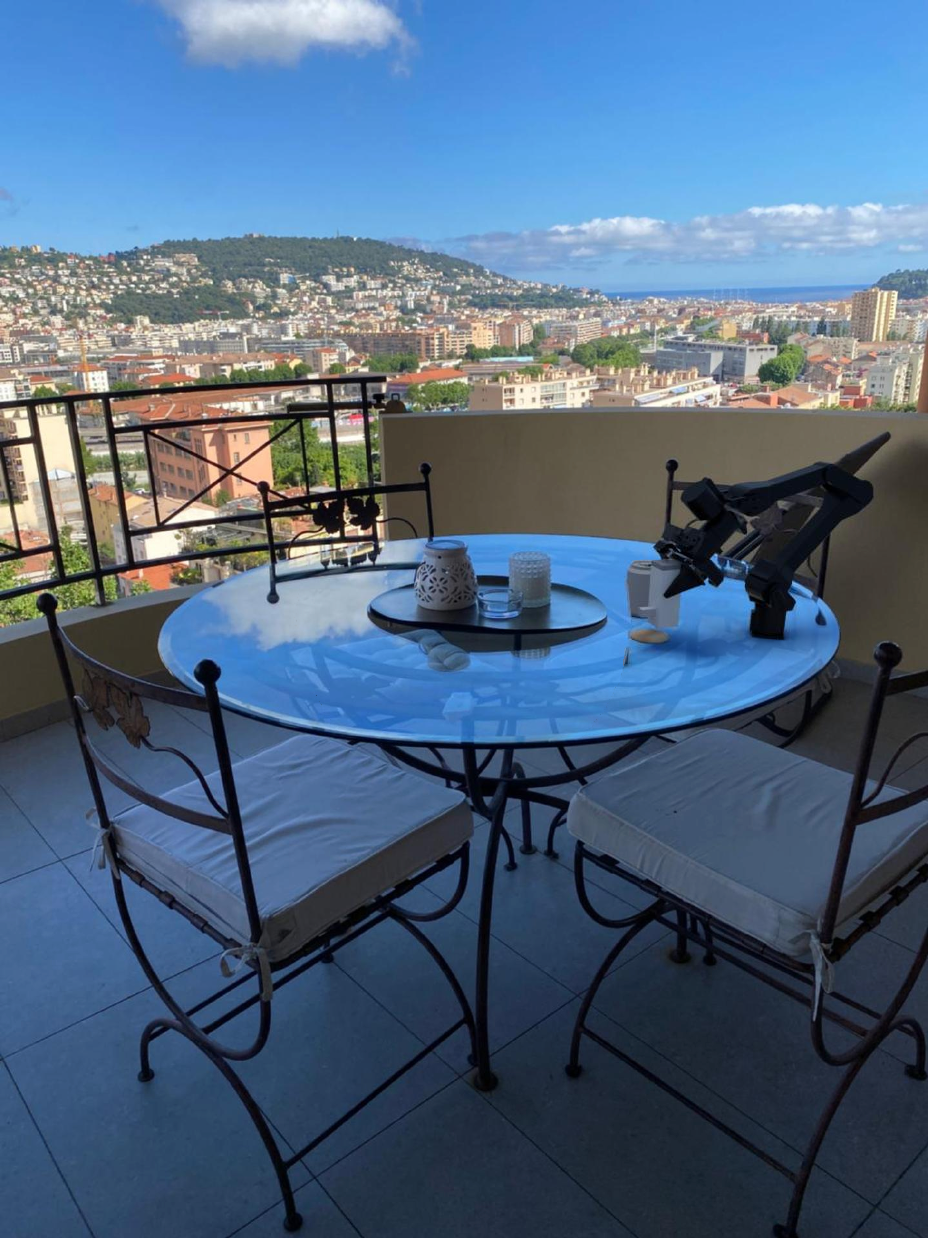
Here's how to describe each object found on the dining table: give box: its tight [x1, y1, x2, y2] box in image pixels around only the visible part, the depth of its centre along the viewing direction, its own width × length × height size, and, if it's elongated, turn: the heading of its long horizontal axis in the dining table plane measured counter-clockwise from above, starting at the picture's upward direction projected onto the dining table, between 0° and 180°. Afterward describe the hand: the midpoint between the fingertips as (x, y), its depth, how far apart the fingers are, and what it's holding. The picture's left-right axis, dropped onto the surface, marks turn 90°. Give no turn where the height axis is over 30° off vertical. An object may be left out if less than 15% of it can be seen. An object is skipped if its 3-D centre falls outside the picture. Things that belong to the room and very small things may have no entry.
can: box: [626, 559, 651, 618], centre depth 187 cm, size 8×8×12 cm
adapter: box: [638, 559, 682, 630], centre depth 164 cm, size 8×4×13 cm, turn 107°
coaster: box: [629, 628, 670, 644], centre depth 173 cm, size 8×8×1 cm
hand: (658, 593), depth 164 cm, fingers closed on adapter, 4 cm apart
